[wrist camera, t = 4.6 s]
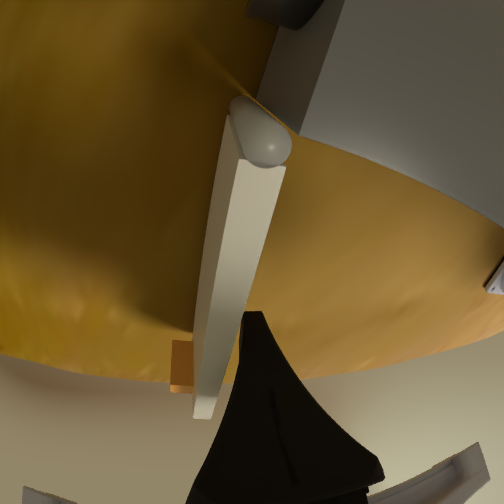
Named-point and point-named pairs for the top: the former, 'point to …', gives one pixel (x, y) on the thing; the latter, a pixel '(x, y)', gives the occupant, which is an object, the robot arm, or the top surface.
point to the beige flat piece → (231, 247)
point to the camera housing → (396, 86)
